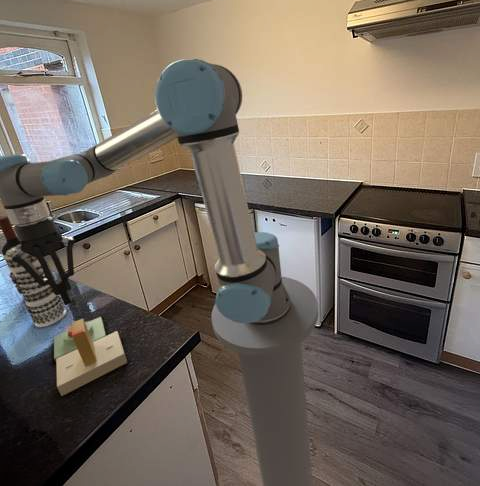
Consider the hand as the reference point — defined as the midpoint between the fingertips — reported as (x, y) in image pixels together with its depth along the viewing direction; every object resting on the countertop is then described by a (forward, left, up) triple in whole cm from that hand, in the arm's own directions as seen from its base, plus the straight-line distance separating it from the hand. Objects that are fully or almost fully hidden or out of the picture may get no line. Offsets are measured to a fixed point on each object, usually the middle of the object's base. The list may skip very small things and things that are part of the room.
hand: (68, 301), depth 79 cm
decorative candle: (+8, -18, -13) cm, 24 cm away
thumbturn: (-1, +13, -10) cm, 16 cm away
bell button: (+1, 0, -10) cm, 10 cm away
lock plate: (-1, +13, -13) cm, 18 cm away
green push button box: (+1, 0, -13) cm, 13 cm away
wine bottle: (+12, -37, -13) cm, 41 cm away
